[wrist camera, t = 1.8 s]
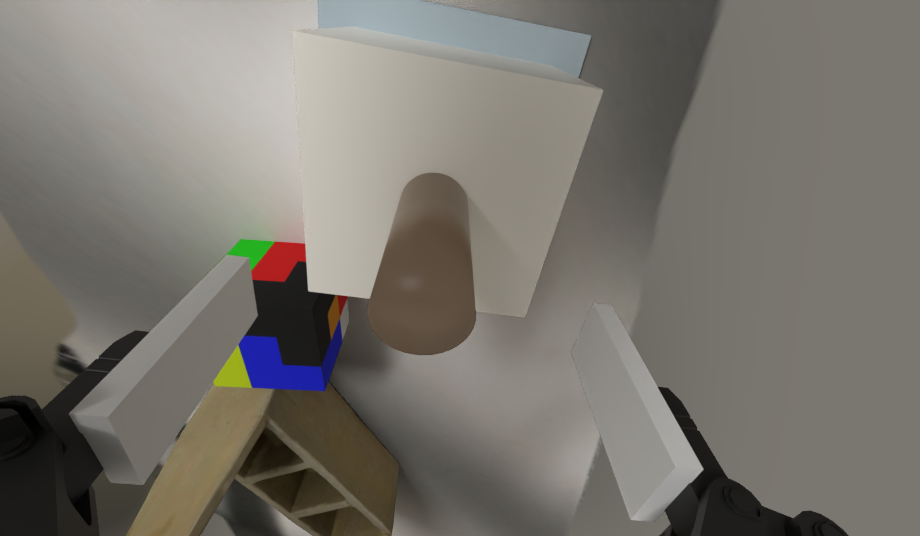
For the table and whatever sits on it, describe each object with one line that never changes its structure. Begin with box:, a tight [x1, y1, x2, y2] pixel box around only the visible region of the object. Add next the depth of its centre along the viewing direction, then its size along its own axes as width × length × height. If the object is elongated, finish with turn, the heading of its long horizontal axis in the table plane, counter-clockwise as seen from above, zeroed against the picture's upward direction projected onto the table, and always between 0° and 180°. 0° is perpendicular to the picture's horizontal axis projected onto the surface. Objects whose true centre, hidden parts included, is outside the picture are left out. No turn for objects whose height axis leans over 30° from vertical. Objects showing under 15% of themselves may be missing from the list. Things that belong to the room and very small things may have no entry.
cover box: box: [292, 27, 603, 355], centre depth 23 cm, size 15×15×22 cm
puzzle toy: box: [213, 239, 349, 391], centre depth 37 cm, size 10×10×10 cm
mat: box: [318, 0, 591, 78], centre depth 33 cm, size 20×20×1 cm
